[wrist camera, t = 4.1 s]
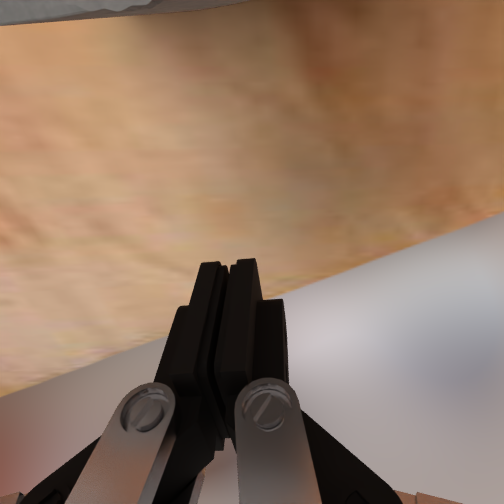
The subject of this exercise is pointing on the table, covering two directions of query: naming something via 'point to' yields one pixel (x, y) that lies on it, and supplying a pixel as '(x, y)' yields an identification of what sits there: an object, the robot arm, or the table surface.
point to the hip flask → (94, 9)
